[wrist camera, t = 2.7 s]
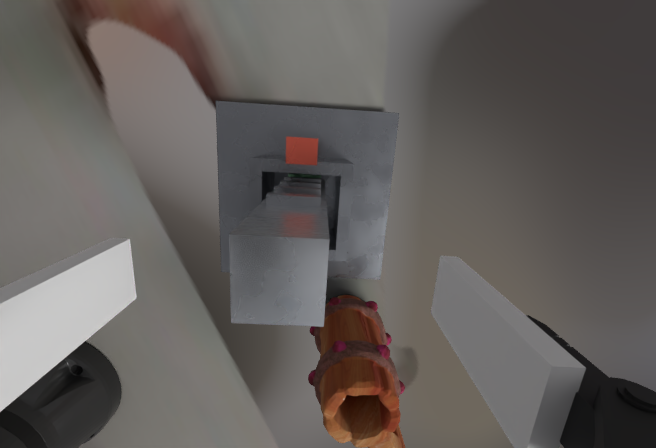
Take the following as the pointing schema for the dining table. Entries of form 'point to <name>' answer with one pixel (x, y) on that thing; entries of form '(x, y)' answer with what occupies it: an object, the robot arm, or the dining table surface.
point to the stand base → (311, 172)
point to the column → (282, 256)
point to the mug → (357, 375)
